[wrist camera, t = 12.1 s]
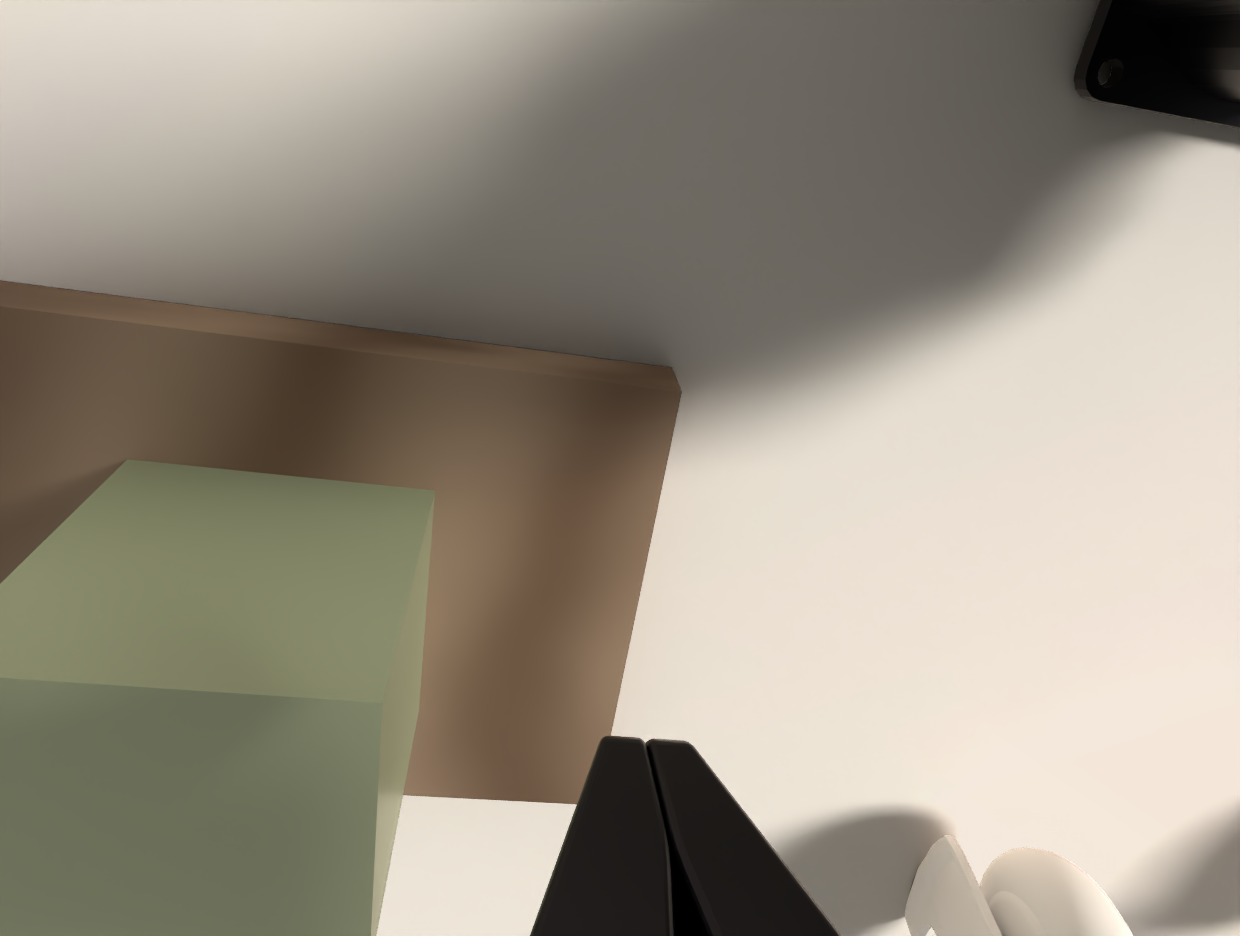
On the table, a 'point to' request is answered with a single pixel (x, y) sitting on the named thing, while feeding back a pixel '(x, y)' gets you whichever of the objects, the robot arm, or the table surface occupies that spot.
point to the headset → (1008, 896)
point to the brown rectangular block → (382, 455)
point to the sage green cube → (210, 705)
